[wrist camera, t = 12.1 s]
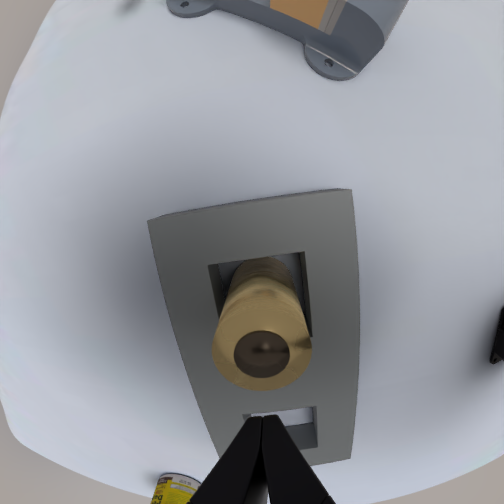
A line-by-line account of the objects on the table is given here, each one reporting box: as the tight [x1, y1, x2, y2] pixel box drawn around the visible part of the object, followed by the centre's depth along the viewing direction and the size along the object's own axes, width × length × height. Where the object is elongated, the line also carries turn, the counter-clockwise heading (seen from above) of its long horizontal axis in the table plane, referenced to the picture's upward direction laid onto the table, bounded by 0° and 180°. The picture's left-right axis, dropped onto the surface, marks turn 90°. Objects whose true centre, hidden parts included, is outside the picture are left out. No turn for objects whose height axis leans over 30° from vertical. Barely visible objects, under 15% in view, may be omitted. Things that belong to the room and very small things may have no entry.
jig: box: [147, 188, 360, 466], centre depth 18 cm, size 11×22×3 cm, turn 9°
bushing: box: [212, 257, 312, 391], centre depth 15 cm, size 4×4×8 cm
